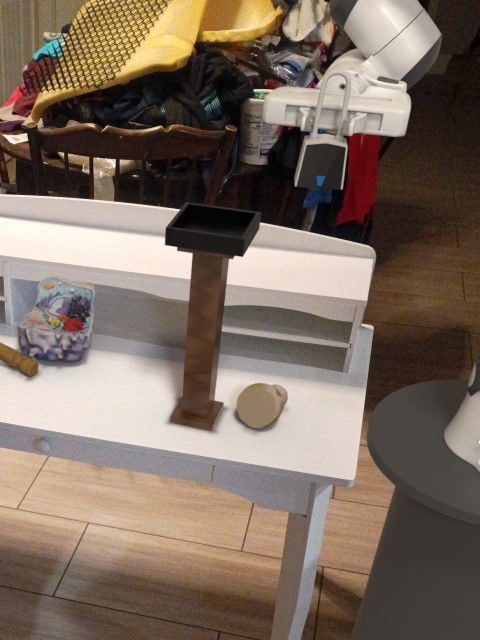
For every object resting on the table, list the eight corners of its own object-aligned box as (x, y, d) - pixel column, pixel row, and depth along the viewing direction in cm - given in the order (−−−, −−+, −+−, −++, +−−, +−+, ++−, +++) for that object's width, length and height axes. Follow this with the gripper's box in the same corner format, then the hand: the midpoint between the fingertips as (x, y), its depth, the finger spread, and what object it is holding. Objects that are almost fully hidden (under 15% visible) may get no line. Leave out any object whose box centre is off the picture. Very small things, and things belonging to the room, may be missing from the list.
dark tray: (259, 229, 121) (261, 212, 120) (242, 257, 114) (245, 239, 113) (185, 218, 124) (186, 201, 123) (164, 245, 117) (165, 227, 116)
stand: (226, 407, 141) (247, 230, 121) (214, 433, 135) (233, 252, 115) (180, 397, 143) (193, 222, 123) (166, 423, 137) (177, 244, 118)
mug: (298, 407, 141) (305, 378, 132) (262, 449, 139) (267, 423, 130) (261, 382, 143) (265, 352, 134) (225, 424, 141) (227, 397, 132)
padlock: (294, 187, 121) (313, 71, 111) (294, 177, 124) (312, 63, 114) (342, 190, 120) (366, 74, 110) (341, 180, 123) (363, 66, 113)
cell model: (101, 272, 157) (92, 315, 141) (96, 326, 163) (88, 374, 147) (31, 265, 157) (14, 308, 141) (29, 320, 163) (13, 367, 147)
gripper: (275, 70, 126) (254, 95, 116) (418, 82, 121) (408, 109, 111) (270, 116, 130) (249, 143, 121) (408, 129, 125) (398, 159, 115)
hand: (327, 127), depth 116 cm, fingers closed on padlock, 4 cm apart
